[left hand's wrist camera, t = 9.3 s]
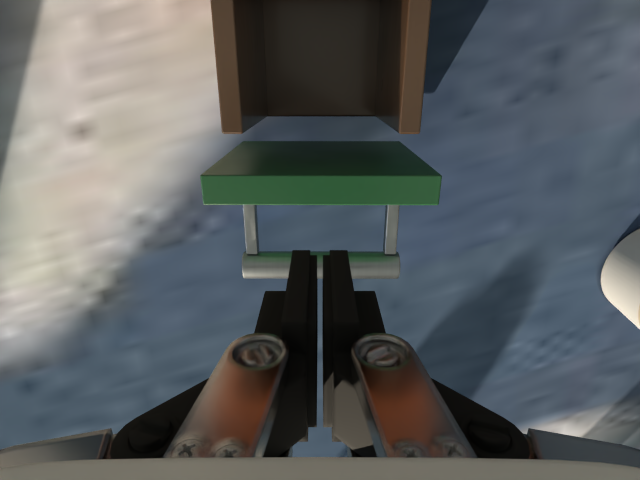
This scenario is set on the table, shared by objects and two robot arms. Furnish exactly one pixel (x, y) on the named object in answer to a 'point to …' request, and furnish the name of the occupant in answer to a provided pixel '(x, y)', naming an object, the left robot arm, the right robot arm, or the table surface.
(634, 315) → the coffee cup
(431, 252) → the table surface
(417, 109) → the drawer
